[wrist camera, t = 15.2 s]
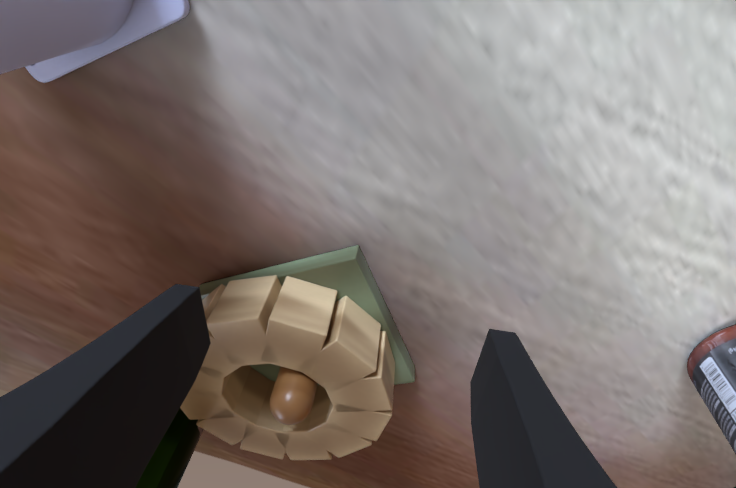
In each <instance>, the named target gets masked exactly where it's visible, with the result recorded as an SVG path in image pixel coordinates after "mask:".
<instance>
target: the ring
mask: <svg viewBox="0 0 736 488" xmlns="http://www.w3.org/2000/svg"><path fill="white" fill-rule="evenodd" d="M336 296H337V290H334V289H330V288H327V287H324V286H320V285H317V284H313V283H310V282H306V281H303V280H300V279H296V278H293V277H289V276H287V277H286V278H285V280H284V283H283V285H282V286H281V284H280V281H279V279H278V277H277V275H272V276H264V277H256V278H248V279H240V280H232V281H229V283H228V284H227V286H224V285H223V284H221V285H219V286H218V287H217V288H216V289H215V290H213V291H212V292H211V293H210V294H209V295H208V296H206V297H205V298H204V299H203V300H202V303H203V308H204V313H205V317H206V322H207V327H208V332H209V337H210V342H211V344H210V346H209V349H208V351H207V354H206V356H205V359H204V361H203V364H202V366H201V368H200V371H199V373H198V375H197V378H196V380H195V382H194V384H193V386H192V387H191V389H190V391H189V393H188V394H187V396H186V398H185V400H184V402H183V403H182V405H181V407H180V408H181V409H182V411H183V412H184V413H185V415H186V416H187V417H188V418H189V419H190V420H197V419H198V421H197V423H196V425H197V426H199V427H201V428H203V429H204V430H206V431H208V432H210V433H211V434H213V435H215V436H217V437H218V438H220V439H222V440H224V441H225V442H227V443H229V444H231V445H234V444H236V443H238V442H240V441H241V446H240V449H243V450H247V451H251V452H255V453H259V454H263V455H267V456H271V457H275V458H279V459H283V457H284V455H285V452H286V453H287V455H288V457H289V458H290V460H328V459H332V456H333V454H334V455H335V456H337V457H338V458H341V457H343V456H346V455H348V454H350V453H353V452H355V451H358V450H360V449H363V448H365V447H367V446H370V445H371V444H372V440H374V441H377V440H378V438H379V436H380V435H381V433H382V431H383V430H384V428H385V426H386V425H387V423H388V421H389V420H390V418H391V416H392V408H393V392H394V375H395V360H394V357H393V354H392V350H391V347H390V344H389V340H388V337H387V334H386V331H380V329H381V324H380V323H379V322H378V321H376V320H375V319H374V318H373V317H372V316H370V315H369V314H368V313H367V312H366V311H364V310H363V309H362V308H361V307H360V306H358V305H357V304H356V303H355V302H354V301H352V300H351V299H350V298H349V297H348V296H344V297H343V298H341V299H340V300H338V301H337V302H335V300H336ZM259 364H274V365H278V366H281V367H285V368H289V369H292V370H296V371H300V372H303V373H304V374H305V375H307V376H308V377H310V378H311V379H313V380H314V381H315V382H317V383H318V384H320V385H317V389H316V393H315V398H314V402H313V406H312V410H311V412H310V414H309V415H308V416H307V418H306V419H305V420H303V421H302V422H300V423H298V424H295V425H285V424H282V423H280V422H278V421H277V420H276V419H275V418H274V417H273V415H272V413H271V410H270V397H271V394H272V391H273V388H274V385H275V381H272V380H269V379H268V378H266V377H265V376H263V375H262V374H260V373H259V372H258V371H256V370H255V369H253V368H252V367H251V366H250V365H259Z"/></svg>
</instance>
